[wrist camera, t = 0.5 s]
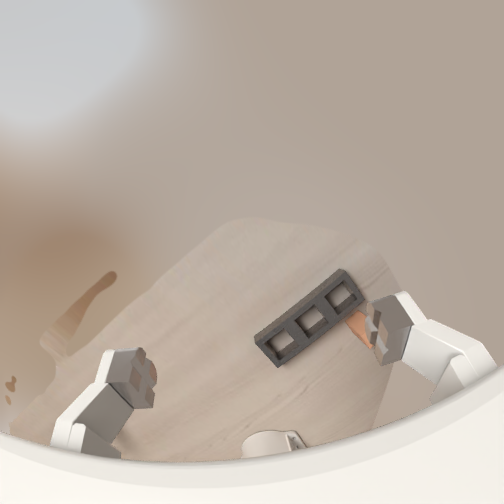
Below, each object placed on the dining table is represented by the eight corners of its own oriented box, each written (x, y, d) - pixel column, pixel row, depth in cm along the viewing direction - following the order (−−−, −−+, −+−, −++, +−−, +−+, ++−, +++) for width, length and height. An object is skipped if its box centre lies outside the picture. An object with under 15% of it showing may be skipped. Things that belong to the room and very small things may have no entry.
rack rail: (357, 295, 62) (364, 299, 58) (275, 360, 63) (277, 367, 59) (339, 268, 62) (345, 271, 58) (254, 336, 62) (254, 342, 58)
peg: (366, 321, 63) (384, 336, 53) (353, 332, 63) (370, 348, 53) (357, 310, 63) (376, 323, 53) (344, 321, 63) (361, 336, 53)
